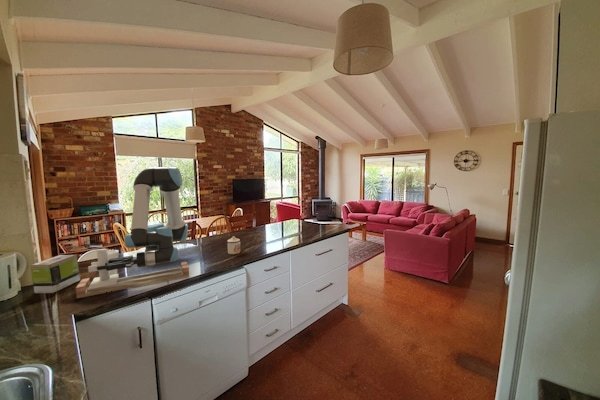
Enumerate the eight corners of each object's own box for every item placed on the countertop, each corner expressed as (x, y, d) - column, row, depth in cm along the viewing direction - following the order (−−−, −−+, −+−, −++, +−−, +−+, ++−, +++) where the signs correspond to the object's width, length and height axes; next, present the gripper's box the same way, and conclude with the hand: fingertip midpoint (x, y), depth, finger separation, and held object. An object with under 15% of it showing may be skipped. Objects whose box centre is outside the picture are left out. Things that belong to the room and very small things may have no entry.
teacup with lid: (235, 255, 177) (234, 238, 176) (224, 253, 180) (224, 237, 179) (245, 250, 188) (244, 234, 187) (235, 249, 191) (234, 233, 190)
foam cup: (118, 270, 153) (116, 248, 151) (122, 274, 146) (120, 252, 145) (99, 274, 146) (96, 252, 145) (101, 279, 139) (99, 256, 138)
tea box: (62, 280, 138) (59, 254, 137) (80, 280, 138) (77, 254, 137) (33, 293, 123) (29, 264, 122) (53, 293, 123) (49, 264, 122)
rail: (83, 288, 128) (82, 278, 127) (187, 269, 151) (186, 261, 150) (76, 298, 117) (75, 288, 117) (189, 276, 141) (188, 267, 140)
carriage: (94, 281, 129) (91, 248, 127) (118, 277, 134) (115, 245, 132) (90, 289, 120) (86, 254, 119) (116, 284, 125) (112, 250, 123)
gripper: (145, 271, 127) (86, 281, 116) (146, 260, 143) (94, 268, 132) (144, 256, 127) (84, 265, 115) (145, 247, 142) (93, 254, 131)
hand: (90, 267), depth 124 cm, fingers open, 5 cm apart
